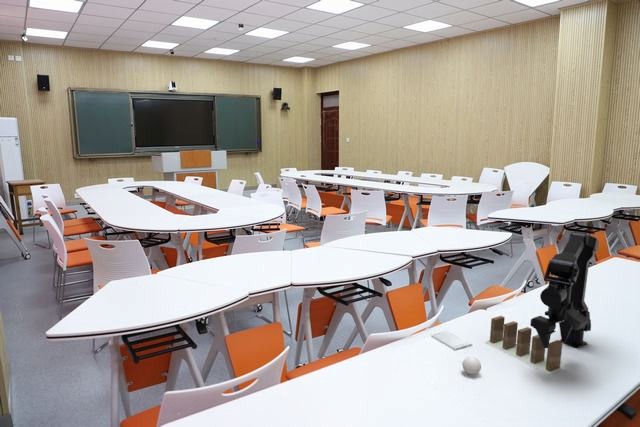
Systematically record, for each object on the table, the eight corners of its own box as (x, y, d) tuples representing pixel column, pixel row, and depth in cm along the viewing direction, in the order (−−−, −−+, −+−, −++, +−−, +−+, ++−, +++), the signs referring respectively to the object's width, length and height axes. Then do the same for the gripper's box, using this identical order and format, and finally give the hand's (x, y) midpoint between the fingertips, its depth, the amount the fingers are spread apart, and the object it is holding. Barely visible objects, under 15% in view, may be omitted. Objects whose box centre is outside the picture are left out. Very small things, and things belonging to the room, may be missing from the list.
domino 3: (515, 354, 153) (517, 330, 152) (525, 351, 156) (527, 327, 154) (519, 356, 152) (522, 331, 150) (529, 353, 154) (531, 328, 153)
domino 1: (489, 341, 163) (491, 318, 161) (499, 338, 165) (500, 315, 164) (493, 343, 161) (495, 320, 160) (502, 340, 164) (504, 317, 162)
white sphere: (483, 373, 142) (484, 357, 141) (475, 380, 138) (476, 363, 137) (461, 364, 148) (462, 348, 146) (452, 371, 144) (453, 354, 143)
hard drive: (431, 334, 167) (455, 348, 156) (447, 330, 171) (472, 343, 160) (430, 338, 167) (455, 352, 156) (447, 334, 171) (472, 347, 160)
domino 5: (545, 369, 144) (548, 343, 142) (555, 365, 146) (557, 339, 145) (550, 371, 142) (552, 345, 141) (559, 367, 145) (562, 341, 143)
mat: (501, 337, 167) (501, 336, 167) (565, 368, 145) (565, 367, 145) (484, 343, 163) (484, 342, 162) (547, 375, 141) (548, 374, 141)
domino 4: (530, 361, 149) (532, 336, 147) (539, 358, 151) (542, 333, 149) (534, 364, 147) (536, 338, 146) (544, 360, 150) (546, 335, 148)
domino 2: (502, 348, 158) (504, 324, 156) (511, 344, 160) (513, 321, 159) (506, 350, 157) (508, 325, 155) (515, 346, 159) (517, 322, 157)
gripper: (565, 312, 129) (560, 363, 131) (603, 301, 138) (597, 348, 140) (531, 300, 138) (527, 347, 141) (568, 290, 147) (563, 334, 150)
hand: (554, 344), depth 143 cm, fingers open, 9 cm apart
